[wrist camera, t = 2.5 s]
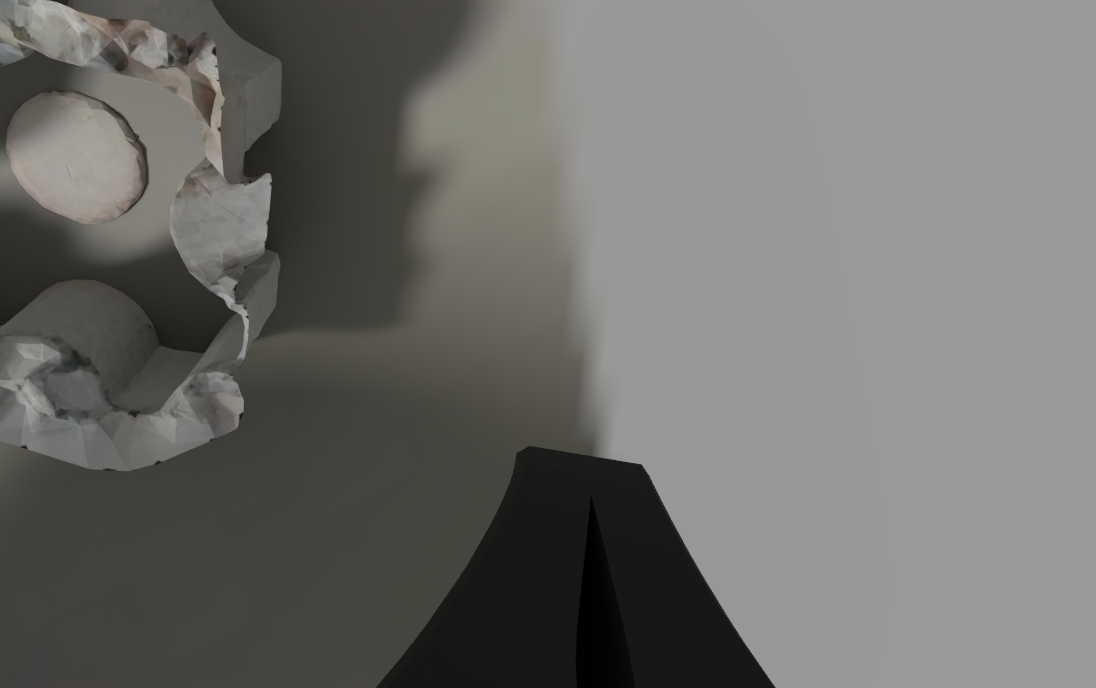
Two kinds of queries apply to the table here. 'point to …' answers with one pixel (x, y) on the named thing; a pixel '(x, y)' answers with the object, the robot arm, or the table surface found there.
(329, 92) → the table surface
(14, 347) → the egg carton
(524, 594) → the robot arm
